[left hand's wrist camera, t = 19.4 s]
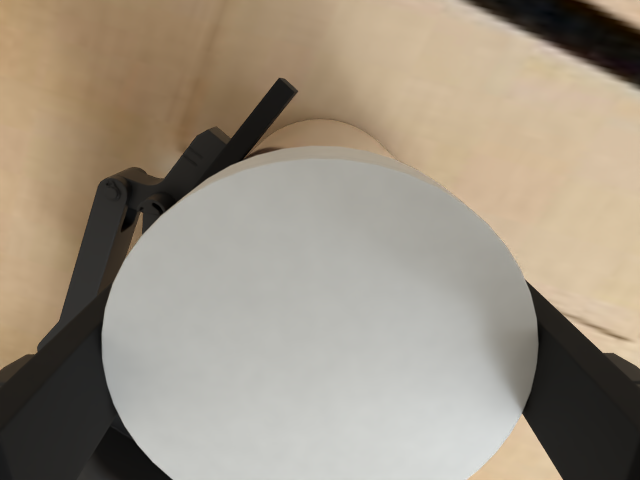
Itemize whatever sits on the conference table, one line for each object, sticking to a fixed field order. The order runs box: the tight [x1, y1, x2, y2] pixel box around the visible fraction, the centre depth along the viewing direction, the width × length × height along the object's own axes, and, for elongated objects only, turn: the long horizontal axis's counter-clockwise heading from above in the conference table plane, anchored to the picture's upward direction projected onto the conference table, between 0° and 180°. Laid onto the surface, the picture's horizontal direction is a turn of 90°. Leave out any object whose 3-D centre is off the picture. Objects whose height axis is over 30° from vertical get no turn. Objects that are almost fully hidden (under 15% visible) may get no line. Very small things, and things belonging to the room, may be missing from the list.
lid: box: [102, 146, 539, 480], centre depth 11 cm, size 11×11×2 cm
